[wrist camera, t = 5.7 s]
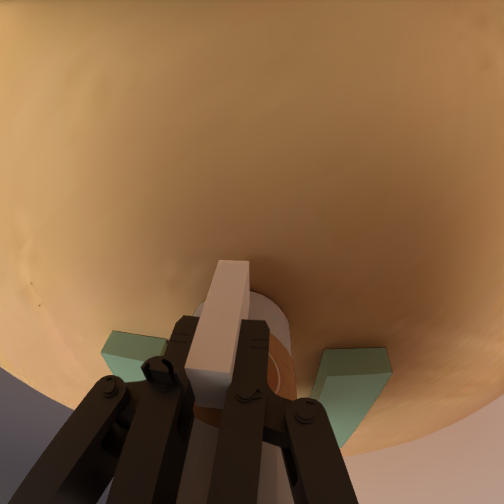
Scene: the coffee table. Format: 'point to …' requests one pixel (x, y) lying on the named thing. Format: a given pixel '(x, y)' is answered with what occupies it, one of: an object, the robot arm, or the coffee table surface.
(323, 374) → the mint green u-shaped piece
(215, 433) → the coffee cup
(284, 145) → the coffee table surface
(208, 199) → the coffee table surface
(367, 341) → the coffee table surface
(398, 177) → the coffee table surface
